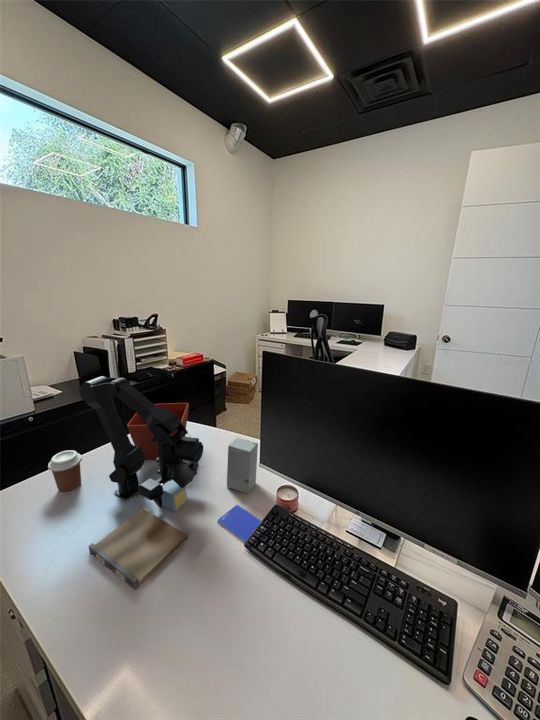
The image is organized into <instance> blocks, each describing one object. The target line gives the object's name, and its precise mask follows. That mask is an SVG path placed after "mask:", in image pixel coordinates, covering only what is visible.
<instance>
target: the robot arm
mask: <svg viewBox="0 0 540 720" xmlns="http://www.w3.org/2000/svg"><path fill="white" fill-rule="evenodd" d="M79 394H80V396H81V398H82V399H83V401H84V402H85V404H86V405H87V406H89V407H91V408H92V409H94V410H95V411H96V413H97V415H98V418H99V420H100V422H101V424H102V425H101V426H103V429H104V431H105V433H106V435H107V438H108V440H109V443H110V444H111V447H112V449H113V450H114V455H113V459H112V463H113V466H114V470H113V471H112V472H111V473H109V475H108V477H109V480H110V482H112V483H116V484H117V487H118V488H117V489H115V491H114V492H113V493H114V494H115V496H116V495H117V496H118V497H120V498H122V499H123V500H125V501H127V500H129V499H130V498H132V497H134V496H135V495H137V494H138V495H141V496H142V497H143V498H146V499H148V500H149V501H153V502H154V503H155V504H156V506H157V507H158V508H159V509H163V505H162V495H163V494H164V493H163V487H162V486H163V485H164V484H166V483H167V482H168V481H171V480H172V479H173V481H174V482H176V483H177V484H178V485H179V487H181V488H184V487H186V488H187V486H188V485H189V484H190V483H192V482H193V480H194V478H195V476H196V475H198V470H199V461H200V460H201V459H202V456H203V453H204V445H203V443H202V442H201V441H200V438H199V437H189V436H186V435H187V434H188V433H189V432H188V430H187V427H186V428H185V427H184V426H183V424H182V423H181V421H180V420H179V417H178V416H177V415H176V414H174V413H173V412H171V411H169V410H168V409H165V408H160V407H158V406H156V405H155V404H156V403H153V402H152V401H151V400H150V399H149V398H148V397H146V396H145V395H144V394H142V393H141V391H139V390H138V389H136V388H135V387H134V386H133V385H132V384H130V382H129V380H128V379H127V378H125V377H117V376H116V377H114V376H113V377H106V376H104V375H100V376H97V377H95V378H92V379H89V380H87V381H84V382H82V383H81V384H80V388H79ZM114 397H116V398H118V399H119V400H120V401H121V402H123V403H124V404H125V405H126V406H128V407H129V408H130V409H131V410H133V412H135V414H136V413H137V414H138V415H140V416H141V417H142V418H143V419H144V420H145V421H146V425H147V428H148V429H149V430H150V431H151V432H152V433H153V435H154V437H153V438H152V439H150V441H151V442H157V446H158V456H159V457H158V458H156V460H155V462H156V463H158V465H159V469H158V470H156V471H157V472H156V474H157V475H160V477H159V478H158V479H156V480H155V479H152V478H151V477H150V478H148V479H147V480H146V481H144V482H142V483H141V484H139V477H138V472H139V471H140V470H142V468H143V466H144V464H145V462H146V460H145V458H144V457H145V455H144V454H143V452H142V449H141V447H140V446H138V447H136V446H135V445H134V443H132V442H131V441H130V438H129V435H128V434H127V431H126V429H125V427H124V425H123V422H122V420H121V418H120V415H119V413H118V411H117V409H116V407H115V404H114V400H115V399H114ZM176 430H178V432H177V433H176V434H175V435H174V436H173V435H171V434H172V433H173V432H174V431H176Z"/></svg>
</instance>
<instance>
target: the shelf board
mask: <svg viewBox="0 0 540 720" xmlns="http://www.w3.org/2000/svg"><path fill="white" fill-rule="evenodd" d="M188 539H189V536H188V533H186V532H184V531H182V530H181V529H179V528H178V527H176V526H174V525H173V524H171V523H169V522H168V521H165V520H164V519H162V518H160V517H159V516H157V515H155V514H154V513H152V512H151V511H149V510H147V509H145V508H142V509H141V510H139V511H138V512H136V513H135V514H134V515H132V516H131V517H130V518H128V519H126V521H124V522H123V523H122V524H120V525H119V526H118V527H116V528H115V529H114V530H112V531H111V532H110V533H108V534H107V535H106V536H105V537H103V538H102V539H100V540H99V541H98V542H96V543H94V542H92V543H90V544H89V545H88V550H89V555H91V556H92V555H93V556H92V557H94V558H95V559H96V560H97V561H98V560H99V561H98V562H99V563H101V564H102V565H104V566H105V567H106V568H107V569H108V570H109V571H111V572H112V573H113V574H114V573H115V574H114V575H115V576H116V577H118V578H119V579H120V580H122V581H123V582H124V583H125V584H127V586H129V587H131V588H132V589H133V590H134V591H137V590H138V589H139V588H140V587H141V586H142V585H143V584H144V583H145V582H146V581H147V580H148V579H149V578H151V576H152V575H153V574H154V573H155V572H156V571H157V570H158V569H159V568H160V567H161V566H162V565H163V564H164V563H165V562H167V560H168V559H169V558H170V557H171V556H172V555H174V553H176V551H178V549H179V548H180V547H181V546H183V544H184V543H186V541H187V540H188Z"/></svg>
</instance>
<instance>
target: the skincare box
mask: <svg viewBox="0 0 540 720" xmlns="http://www.w3.org/2000/svg"><path fill="white" fill-rule="evenodd" d="M258 449H259V443H258V442H255V441H251V440H249V439H245V438H241V437H236V438H235V439H233V440H232V442H230V443H229V444H228V449H227V470H226V471H227V472H226V474H227V475H226V488H228V489H232V490H234V491H238V492H241V493H244V494H249V493H250V492H251V490H252V488H253V487H254V485H255V484H256V480H257V467H258V466H257V465H258Z"/></svg>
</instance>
